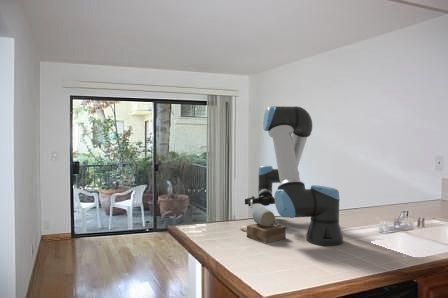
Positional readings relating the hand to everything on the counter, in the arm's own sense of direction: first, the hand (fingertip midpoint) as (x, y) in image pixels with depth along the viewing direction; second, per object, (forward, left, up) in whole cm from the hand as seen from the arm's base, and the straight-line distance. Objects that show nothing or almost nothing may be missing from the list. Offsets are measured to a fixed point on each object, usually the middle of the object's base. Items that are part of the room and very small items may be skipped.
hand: (265, 205), depth 167 cm
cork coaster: (+9, +2, -13) cm, 16 cm away
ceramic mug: (-5, +4, -8) cm, 10 cm away
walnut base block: (-6, +6, -13) cm, 15 cm away
